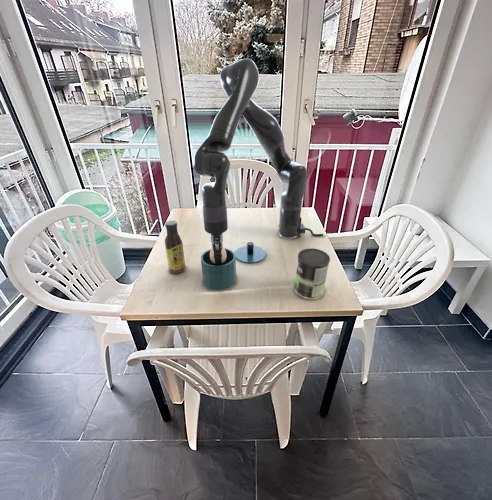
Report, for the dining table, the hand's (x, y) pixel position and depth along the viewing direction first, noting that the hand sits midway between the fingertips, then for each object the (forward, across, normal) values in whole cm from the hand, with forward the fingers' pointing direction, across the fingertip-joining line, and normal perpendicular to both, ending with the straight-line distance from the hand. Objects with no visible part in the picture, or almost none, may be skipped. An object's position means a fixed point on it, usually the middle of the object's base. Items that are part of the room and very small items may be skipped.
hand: (218, 259), depth 99 cm
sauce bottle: (+9, +9, +16) cm, 21 cm away
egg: (+2, 0, 0) cm, 2 cm away
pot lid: (+9, +15, -13) cm, 22 cm away
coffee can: (+9, -9, -31) cm, 34 cm away
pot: (+9, 0, 0) cm, 9 cm away
